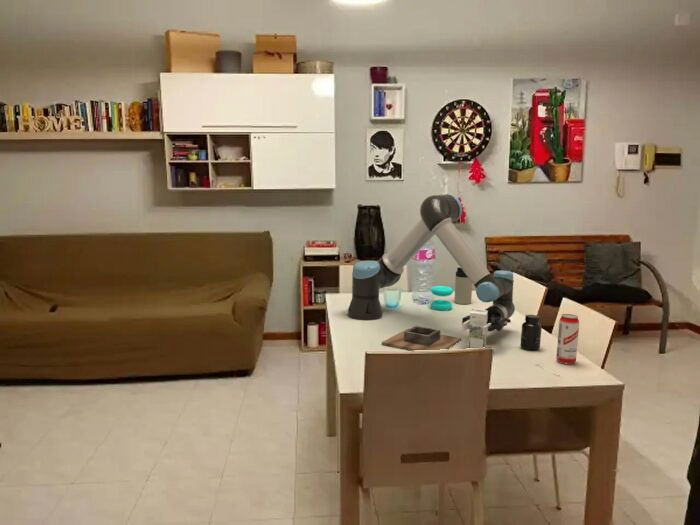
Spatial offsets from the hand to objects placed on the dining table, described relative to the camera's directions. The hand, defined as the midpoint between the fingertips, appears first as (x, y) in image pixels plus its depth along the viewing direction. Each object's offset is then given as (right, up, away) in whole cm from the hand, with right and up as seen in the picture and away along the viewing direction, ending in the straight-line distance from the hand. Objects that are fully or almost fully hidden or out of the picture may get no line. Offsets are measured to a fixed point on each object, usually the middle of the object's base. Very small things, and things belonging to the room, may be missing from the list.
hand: (473, 329), depth 193 cm
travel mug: (+12, +3, +78) cm, 79 cm away
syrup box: (+2, -8, +6) cm, 10 cm away
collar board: (-16, -7, +14) cm, 22 cm away
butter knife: (+19, -11, -7) cm, 23 cm away
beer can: (+30, -11, -5) cm, 32 cm away
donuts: (0, +2, +66) cm, 66 cm away
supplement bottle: (+23, -8, +10) cm, 26 cm away
